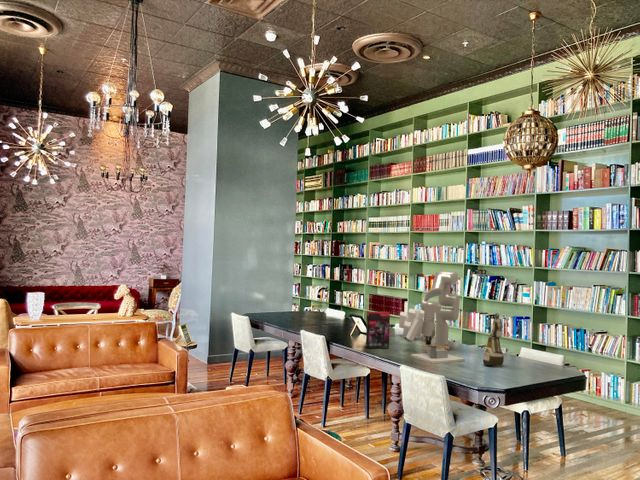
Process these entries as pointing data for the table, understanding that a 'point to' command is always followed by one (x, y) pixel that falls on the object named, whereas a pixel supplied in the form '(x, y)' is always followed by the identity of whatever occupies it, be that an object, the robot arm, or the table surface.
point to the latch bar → (437, 346)
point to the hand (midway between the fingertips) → (428, 345)
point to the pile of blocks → (412, 323)
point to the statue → (494, 345)
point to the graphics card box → (377, 329)
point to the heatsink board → (440, 360)
